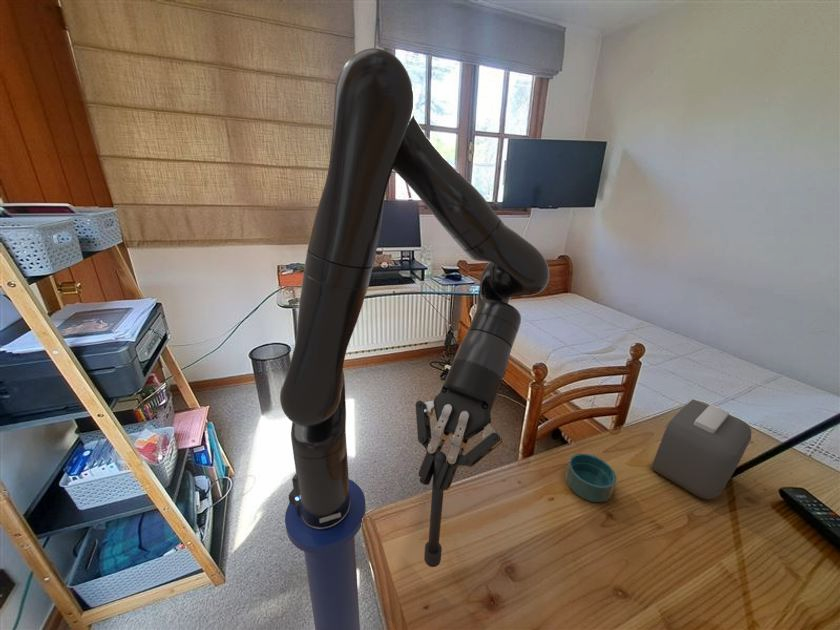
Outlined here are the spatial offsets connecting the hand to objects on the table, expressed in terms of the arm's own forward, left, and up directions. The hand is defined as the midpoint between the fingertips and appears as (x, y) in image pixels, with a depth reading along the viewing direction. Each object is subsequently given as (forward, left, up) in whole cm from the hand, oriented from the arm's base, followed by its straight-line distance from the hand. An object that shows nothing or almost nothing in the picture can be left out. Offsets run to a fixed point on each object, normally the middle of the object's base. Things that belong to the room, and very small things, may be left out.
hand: (431, 487), depth 45 cm
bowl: (+29, +29, -22) cm, 47 cm away
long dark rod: (+1, +2, -17) cm, 17 cm away
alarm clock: (+53, +39, -22) cm, 69 cm away
